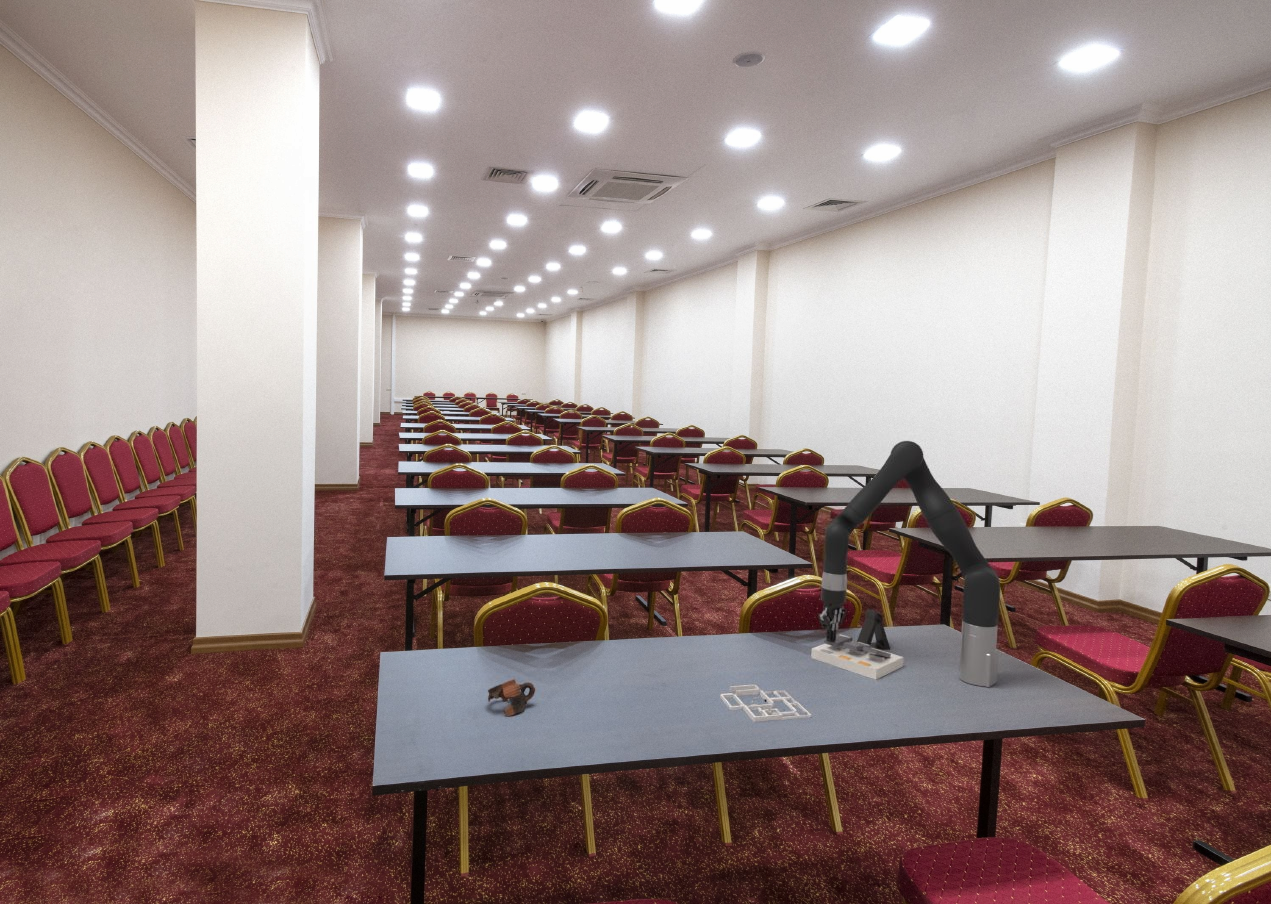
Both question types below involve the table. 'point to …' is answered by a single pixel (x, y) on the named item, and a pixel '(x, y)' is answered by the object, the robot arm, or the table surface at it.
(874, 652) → the rocker
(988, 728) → the table surface
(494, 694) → the pottery mug
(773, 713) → the floor plan model
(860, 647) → the block
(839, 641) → the block
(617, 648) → the table surface
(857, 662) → the switch unit
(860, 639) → the phone stand
